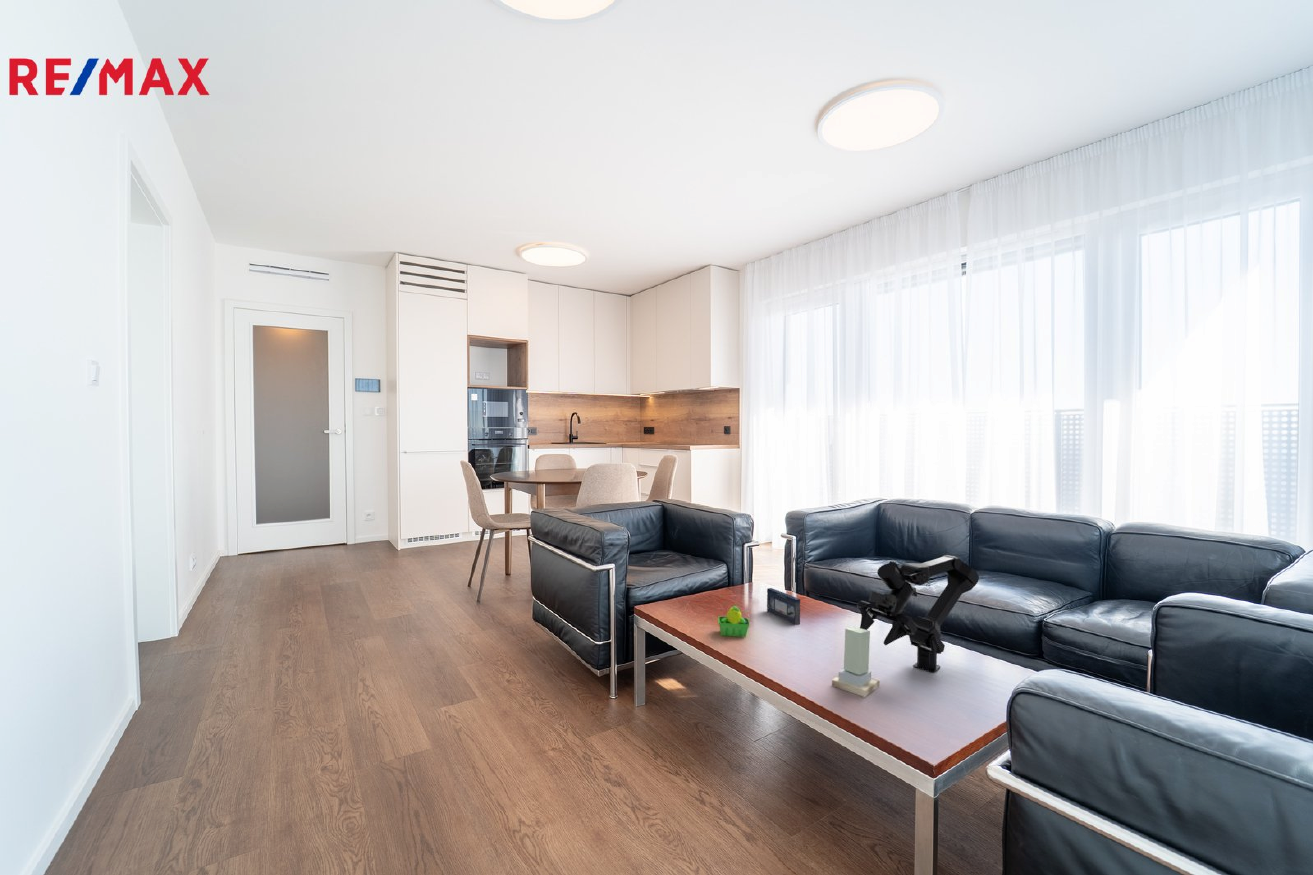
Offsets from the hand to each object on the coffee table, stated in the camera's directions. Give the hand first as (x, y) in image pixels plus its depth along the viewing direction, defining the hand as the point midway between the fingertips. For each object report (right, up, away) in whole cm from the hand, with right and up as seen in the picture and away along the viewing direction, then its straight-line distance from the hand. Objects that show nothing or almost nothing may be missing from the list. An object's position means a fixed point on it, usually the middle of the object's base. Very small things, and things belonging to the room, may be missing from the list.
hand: (871, 639), depth 168 cm
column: (-6, -8, -3) cm, 11 cm away
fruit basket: (-37, -12, +39) cm, 55 cm away
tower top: (-6, -11, -3) cm, 13 cm away
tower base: (-6, -14, -3) cm, 15 cm away
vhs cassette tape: (-14, -13, +59) cm, 62 cm away
